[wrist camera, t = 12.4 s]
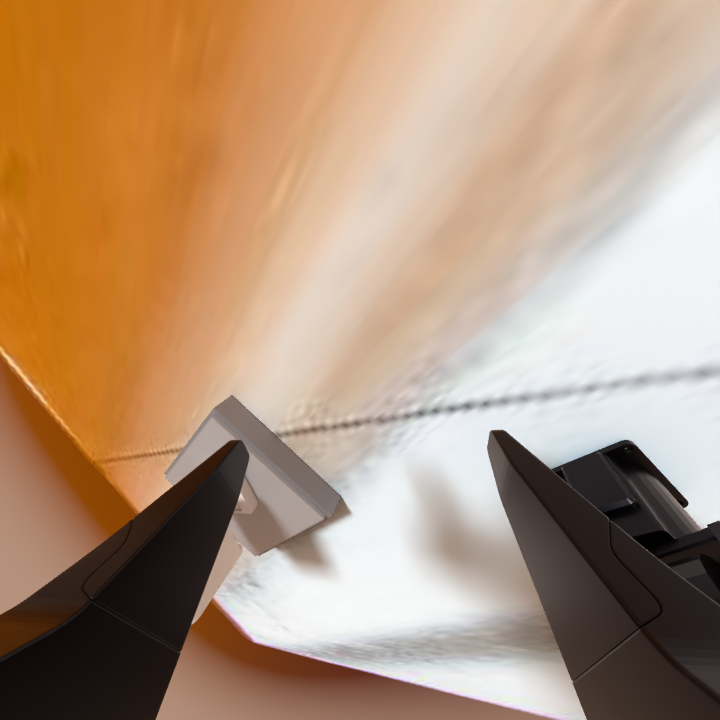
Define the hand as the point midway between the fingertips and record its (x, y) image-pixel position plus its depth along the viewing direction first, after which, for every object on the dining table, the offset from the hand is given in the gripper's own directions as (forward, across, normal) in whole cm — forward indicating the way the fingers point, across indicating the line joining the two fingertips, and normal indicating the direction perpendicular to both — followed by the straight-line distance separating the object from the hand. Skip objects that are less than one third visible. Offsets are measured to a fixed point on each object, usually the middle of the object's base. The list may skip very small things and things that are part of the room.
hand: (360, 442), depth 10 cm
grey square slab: (+13, +17, +20) cm, 29 cm away
